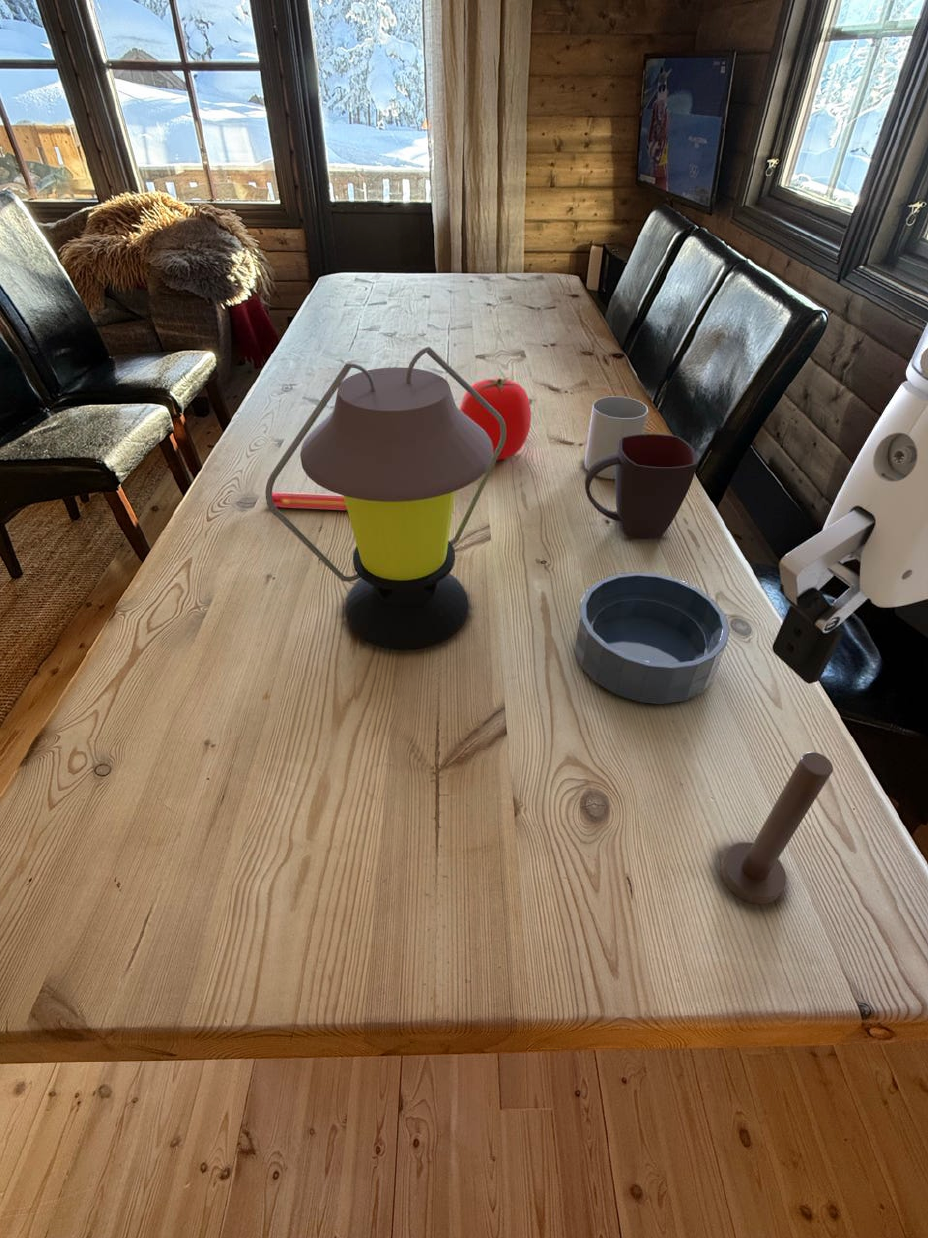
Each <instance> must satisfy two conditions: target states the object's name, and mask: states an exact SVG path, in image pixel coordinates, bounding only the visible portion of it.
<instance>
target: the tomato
mask: <svg viewBox="0 0 928 1238" xmlns="http://www.w3.org/2000/svg"><path fill="white" fill-rule="evenodd" d="M470 386H471V387H472V388H473V389H474V390H475V391H476V392H477V393H478V394H479V395H480V396H481V397H482V398H484V399H485V400H486V401H487V402H488V403H489V404H490V405H491V406H492V407H493V408H494V409H495V410H496V411H497V412H498V413H499V414H500V415H501V416H502V418H503V420H504V422H505V425H506V439H505V443H504V446H503V448H502V450H501V452H500V454H499V456H498V458H497V460H496V461H499V460H505V459H508V458H510V457H513V456H514V455H515V454H517V453H518V452H519V451H520V450H521V449H522V447H523V446H524V444H525V442H526V440H527V438H528V435H529V433H530V429H531V421H532V412H531V411H532V410H531V405H530V400H529V397H528V394H527V392H526V389H524V388H523V386H522V385H521V384H519V383H517V382H515V381H513V380H510V377H507V378H484V379H482V380H479V381H476V382H475V383H473V384H471V385H470ZM459 410H461V411H462V412H463V413H464V414H466V415H467V416H468V417H469V418H471V419H472V420H473V421H474V422H475V423H477V424H478V425H479V426H480V427H481V428H483V429H484V430H485V432H486V433H487V434H488V436H489V438H490V439H491V441H492V445H493V455H494V452H495V450H496V448H497V447H498V444H499V442H500V438H501V427H500V424H499V422H498V420H497V419H496V418H495V417H494V416H493V415H492V414H491V413H490V412H489V411H488V410H487V409H486V408H485V407H484V406H483V405H481V404H480V403H479V402H478V401H477V400H476V399H475V398H474V397H473V396H472V395H471V394H470V393H469V392H468V391H467V390H466V392H465V393H464V394H463V397H462V400H461V403H460V408H459Z"/></svg>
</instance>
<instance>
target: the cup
mask: <svg viewBox="0 0 928 1238" xmlns="http://www.w3.org/2000/svg"><path fill="white" fill-rule="evenodd" d="M648 415H649V409H648V406H647V405H646V403H644V402H642V401H640V400H638V399H634V398H632V397H628V396H627V397H625V396H619V395H617V396H616V395H615V396H614V395H613V396H604V397H601V398H597V399H596V400H594V402H593V403H592V407H591V415H590V421H589V428H588V434H587V441H586V449H585V455H584V469H586V470H587V472H588V471H589V469H590V468H591V467H592V466H593V465H594V464H595V463H596V462H598V461H599V460H601V459H603V458H606V457H609V456H613V455H617V449H618V443H619V440H620V438H621V437H625V436H630V435H637V434H645V431H646V424H647V420H648ZM615 469H616V465H613V466H610V467H607V468H605V469H603V470H602V471H600V472H599V473H598V474H597V475H596V476H595V477H599V478H603V479H609V480H615Z"/></svg>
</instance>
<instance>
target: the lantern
mask: <svg viewBox="0 0 928 1238" xmlns="http://www.w3.org/2000/svg"><path fill="white" fill-rule="evenodd" d="M424 354H427V355H428V356H429V357H431V359H432V360H433V361H434V362H436V363H437V364H438V365H439V366H440V368H442V369H443V370H444V371H445V372H446V373H447V374H448V375H449V376H451V377H452V378H453V380H455V381H456V382H457V383H458V384H459V385H460V386H461V387H462V388H463V389H464V390H465V391H466V392H467V391H468V392H469V393H470V394H471V395H472V396H473V397H474V398H475V399H476V400H477V401H478V402H479V403H480V404H481V405H483V406H484V407H485V408H486V409H487V410H488V411H489V412H490V413H491V414H492V415H493V416H494V417H495V418H496V419H497V420H498V422H499V424H500V427H501V438H500V442H499V444H498V447H497V448H496V450H495V452H494V455H493V445H492V441H491V439H490V438H489V436H488V434H487V433H486V432H485V430H484V429H483V428H481V427H480V426H479V425H478V424H477V423H475V422H474V421H473V420H472V419H471V418H469V417H468V416H467V415H466V414H464V413H463V412H462V411H461V410H460V408H459V407H458V406H457V404H456V401H455V399H454V396H453V392H452V390H451V389H452V388H451V385H450V384H449V382H448V381H447V379H445V378H444V377H443V376H441V375H439V374H437V373H435V372H432V371H429V370H424V369H420V368H414V367H415V364H417V362H418V360H419V359H420V358H421V357H422V356H423V355H424ZM352 368H353V369H356V370H359V371H361V372H358V373H355V374H352V375H350V376H348V377H347V375H348V374H349V372H350V371H351V369H352ZM335 392H336V395H335V397H336V398H335V402H334V407H333V409H332V412H331V413H329V414H328V415H327V417H325V418H324V419H323V420H322V421H321V422H320V423H318V425H317V426H316V427H315V428H314V429H312V431H311V432H310V433H309V434H308V432H309V431H310V429H311V428H312V427H313V425H314V424H315V422H316V421H317V419H318V418H319V416H320V415H321V414H322V412H323V410H324V409H325V407H326V406H327V404H328V403H329V401H330V400H331V399H332V397H333V395H334V394H335ZM307 434H308V435H307ZM306 435H307V437H306ZM305 437H306V438H305ZM505 439H506V425H505V422H504V420H503V418H502V416H501V415H500V414H499V413H498V412H497V411H496V410H495V409H494V408H493V407H492V406H491V405H490V404H489V403H488V402H487V401H486V400H485V399H484V398H482V397H481V396H480V395H479V394H478V393H477V392H476V391H475V390H474V389H473V388H472V387H471V385H470V384H469V383H468V382H467V380H465V379H464V378H462V376H461V375H460V374H459V373H458V372H457V371H455V369H453V367H451V365H449V364H448V363H447V362H446V360H444V359H443V358H442V357H441V356H440V355H439V354H438V353H437V352H436V351H434V349H432V347H430V346H426V347H424V348H422V349H421V350H419V351H418V352H417V353H416V354H415V355H414V356H413V357H412V359H411V361H410V362H409V364H408V367H401V366H400V367H396V366H395V367H380V368H374V369H368V370H367V369H366V368H365V367H363V366H362V365H360V364H357V363H352V362H345V364H344V365H343V367H342V368H341V370H340V372H339V373H338V374H337V376H336V377H335V379H334V380H333V382H332V383H331V385H330V386H329V388H328V389H327V391H326V392H325V394H324V395H323V397H322V398H321V399H320V401H319V403H318V404H317V405H316V407H315V408H314V410H313V411H312V413H311V414H310V416H309V417H308V418H307V420H306V421H305V423H304V425H303V426H302V427H301V428H300V431H299V432H298V434H296V436H295V438H294V439H293V441H292V442H291V444H290V445H289V447H288V448H287V450H286V451H285V453H284V454H283V456H282V457H281V458H280V460H279V461H278V463H277V465H276V466H275V467H274V469H273V470H272V472H271V473H270V474H269V477H268V479H267V482H266V484H265V485H266V486H265V501H266V504H267V507H268V509H269V510H270V512H271V513H272V514H273V515H274V516H275V517H276V518H277V519H278V520H280V522H281V523H283V525H284V526H285V527H287V528H288V530H289V531H291V533H293V535H295V537H297V538H298V539H299V540H300V541H301V542H302V544H304V545H305V546H306V547H307V548H308V549H309V550H310V551H311V552H312V553H313V554H314V555H315V556H316V557H317V558H318V560H320V561H321V562H322V564H324V565H325V566H326V567H327V568H328V569H329V570H330V571H331V572H332V573H333V574H334V575H335V576H336V577H337V578H338V579H339V580H340V581H342V582H345V583H346V582H354V581H356V582H355V584H354V585H353V586H352V587H351V589H349V590H350V591H349V592H348V594H347V597H346V600H345V601H346V602H345V616H346V620H347V623H348V624H349V626H350V628H351V630H352V632H354V633H355V634H356V635H357V636H358V637H359V638H361V639H362V640H363V641H365V642H367V643H369V644H372V645H374V646H377V647H380V648H384V649H389V650H397V651H411V650H412V651H413V650H414V651H415V650H419V649H425V648H429V647H431V646H435V645H438V644H440V643H442V642H444V641H446V640H448V639H449V638H452V636H453V635H454V634H456V633H457V632H458V631H459V630H460V628H462V626H463V624H464V622H465V621H466V618H467V615H468V611H469V600H468V599H469V598H468V596H467V592H466V590H465V588H464V586H463V585H462V584H461V582H460V581H459V580H458V579H457V578H456V577H455V576H454V575H453V574H451V571H452V570H453V568H454V566H455V562H456V552H455V551H456V550H455V548H454V545H456V543H458V542H459V540H460V538H461V536H462V534H463V532H464V529H465V528H466V526H467V524H468V521H469V519H470V518H471V515H472V513H473V511H474V509H475V507H476V505H477V502H478V500H479V498H480V496H481V494H482V492H483V489H484V488H485V485H486V483H487V482H488V479H489V477H490V475H491V474H492V471H493V469H494V466H495V464H496V462H497V461H498V460H497V458H498V456H499V454H500V452H501V450H502V448H503V446H504V443H505ZM303 440H304V441H303ZM302 441H303V443H302V446H301V449H300V454H299V457H300V464H301V467H302V470H303V471H304V473H305V474H306V476H307V477H308V478H309V479H310V480H311V481H312V482H314V484H316V485H317V486H320V487H321V488H324V489H325V490H327V491H329V492H332V493H335V494H336V495H343V496H344V499H345V503H346V507H347V510H346V511H347V514H348V518H349V522H350V525H351V529H352V533H353V536H354V540H355V544H356V547H355V548H354V550H353V553H352V562H353V563H352V564H353V568H354V571H355V572H356V573H355V574H353V575H344V573H342V572H341V571H340V570H339V568H338V567H337V566H336V565H334V564H333V562H332V561H331V560H329V559H328V557H326V555H324V553H322V552H321V551H320V550H319V548H317V547H316V546H315V544H314V543H312V542H311V540H310V539H308V538H307V537H306V536H305V535H304V534H303V533H302V531H301V530H299V528H297V526H295V524H294V523H292V522H291V521H290V519H288V518H287V516H286V515H284V513H282V512H281V511H280V510H279V509H278V507H277V506H275V504H274V502H273V499H272V492H273V488H274V485H275V482H276V481H277V480H276V479H277V478H278V477H279V475H280V474H281V472H282V471H283V469H284V468H285V466H286V465H287V463H288V462H289V460H290V459H291V457H292V456H293V454H294V453H295V451H296V450H297V449H298V447H299V446H300V445H301V442H302ZM481 477H482V478H481ZM480 478H481V480H480V482H479V484H478V487H477V489H476V490H475V493H474V495H473V496H472V498H471V501H470V503H469V505H468V507H467V510H466V512H465V514H464V516H463V518H462V520H461V522H460V524H459V527H458V529H457V530H456V533H455V535H454V537H453V538H452V539H451V540H450V533H451V527H452V518H453V511H454V504H455V496H456V492H457V491H459V490H462V489H464V488H466V487H468V486H469V485H471V484H473V483H475V482H476V481H477V480H479V479H480Z"/></svg>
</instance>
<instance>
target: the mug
mask: <svg viewBox="0 0 928 1238" xmlns="http://www.w3.org/2000/svg"><path fill="white" fill-rule="evenodd" d="M698 464H699V456H698V454H697V452H696V450H695V449H694V447H693V446H692V445H691V444H689V442H687V441H686V440H685V439H683V438H682V437H679V436H677V435H671V434H662V433H644V434H637V435H630V436H625V437H621V438H620V440H619V443H618V449H617V455H613V456H609V457H606V458H603V459H601V460H599V461H598V462H596V463H595V464H594V465H593V466H592V467H591V468H590V469H589V471H588V470H587V473H586V474H585V475H586V476H585V479H584V488H585V493H586V496H587V498H588V501H589V502H590V503H591V505H592V506H593V507H594V508H595V509H596V510H597V511H598V512H599V513H601V514H602V515H603V516H605V517H606V518H608V519H610V520H613V521H616V522H617V523H618V526H619V529H620V530H621V532H622V533H623V534H624V535H625V536H626V537H627V538H628V539H635V540H653V539H659V538H662V537H663V536H664V535H665V533H666V531H667V530H668V528H669V527H670V526H671V524H672V523H673V522H674V519H675V518H676V516H677V514H678V512H679V510H680V509H681V506H682V505H683V502H684V501H685V499H686V496H687V494H688V492H689V490H690V488H691V485H692V483H693V480H694V477H695V474H696V471H697V467H698ZM613 465H616V469H615V479H614V481H615V485H614V486H615V507H616V510H615V511H614V510H610V509H607V508H605V506H603V505H601V504H600V503H599V502H597V500H595V498H594V496H593V495H592V492H591V484H592V482H593V480H594V479H595V477H597V476H596V475H597V474H598V473H599V472H600V471H602V470H603V469H605V468H607V467H610V466H613Z"/></svg>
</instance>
